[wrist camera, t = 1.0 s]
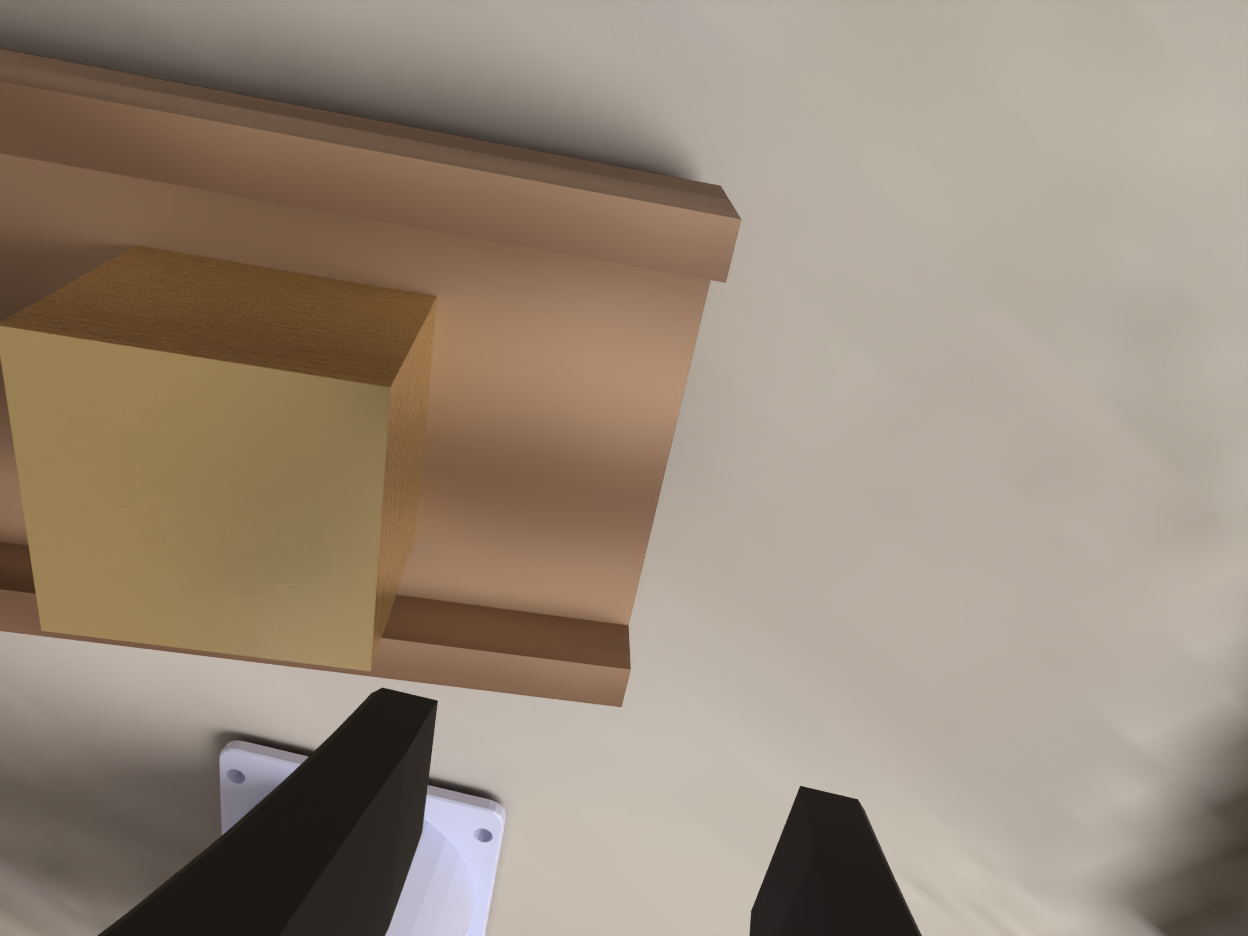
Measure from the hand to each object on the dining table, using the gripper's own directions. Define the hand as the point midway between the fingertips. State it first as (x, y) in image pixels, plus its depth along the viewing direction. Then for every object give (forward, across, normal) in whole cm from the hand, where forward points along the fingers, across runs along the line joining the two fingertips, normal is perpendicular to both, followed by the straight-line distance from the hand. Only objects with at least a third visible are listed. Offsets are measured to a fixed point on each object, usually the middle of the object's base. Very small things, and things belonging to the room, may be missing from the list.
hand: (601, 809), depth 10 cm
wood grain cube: (+7, +7, 0) cm, 10 cm away
